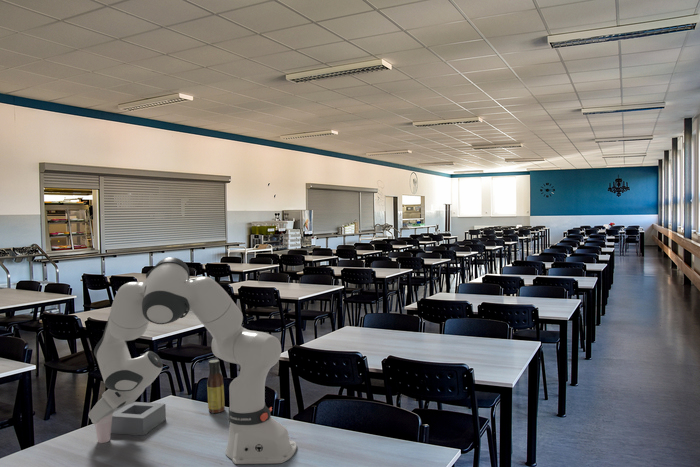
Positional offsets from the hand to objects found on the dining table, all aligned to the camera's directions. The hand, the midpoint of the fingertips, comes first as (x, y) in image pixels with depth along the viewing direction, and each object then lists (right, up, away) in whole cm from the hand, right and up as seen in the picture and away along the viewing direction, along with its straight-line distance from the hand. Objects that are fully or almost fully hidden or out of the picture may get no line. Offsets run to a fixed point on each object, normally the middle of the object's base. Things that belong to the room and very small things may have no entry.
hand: (101, 417), depth 173 cm
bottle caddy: (+7, -7, +12) cm, 16 cm away
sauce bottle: (+32, -7, +25) cm, 42 cm away
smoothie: (+1, -8, 0) cm, 8 cm away
